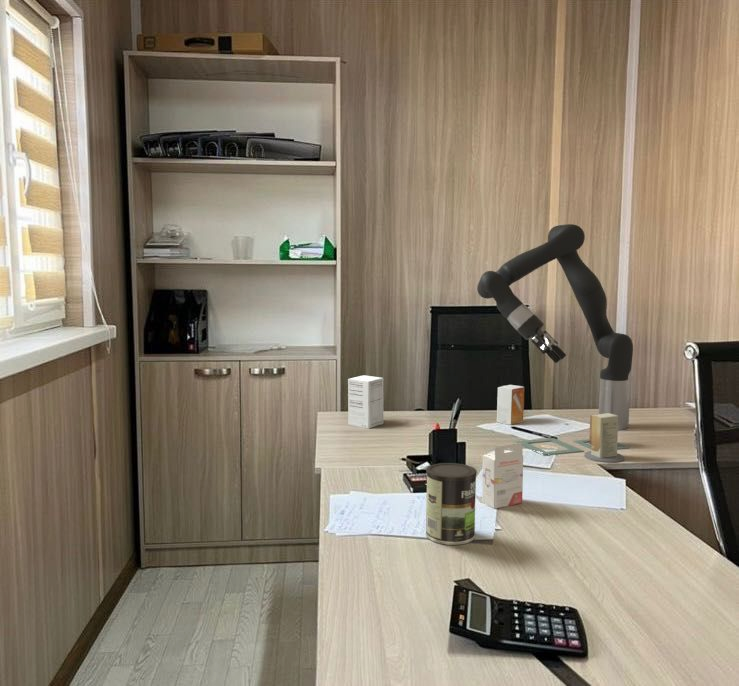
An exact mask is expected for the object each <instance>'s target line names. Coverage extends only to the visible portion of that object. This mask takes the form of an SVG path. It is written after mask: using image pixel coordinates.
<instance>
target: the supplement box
mask: <svg viewBox="0 0 739 686" xmlns="http://www.w3.org/2000/svg"><path fill="white" fill-rule="evenodd" d="M347 386H348V387H347V391H348V393H347V399H348V400H347V401H348V402H347V404H348V405H347V406H348V407H347V408H348V410H347V412H348V413H347V415H348V416H347V417H348V418H347V419H348V420H347V421H348V423H347V424H348V426H351V427H356V428H362V429H367V430H368V429H372V428H374V427H377V426H380V425H383V424H384V377H381V376H371V375H359V376H355V377H351V378H348V379H347Z"/></svg>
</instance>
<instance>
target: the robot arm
mask: <svg viewBox="0 0 739 686" xmlns="http://www.w3.org/2000/svg"><path fill="white" fill-rule="evenodd" d="M585 237H586V236H585V231H584V230H583V228H582V227H580V226H579V225H577V224H572V223H568V224H559V225H555V226H553V227H552V228H551V229H550V230H549V232H548V233H547V242H545V243H543V244H540V245H539V246H536V247H534V248H531V249H529V250H526V251H525V252H522V253H519V254H518V255H516V256H515V257H512V258H511V259H510V260H508V261H506V262H504V263H503V264H502V265H501V266H500V267H499V269H498V270H496V271H494V270H487V271H486V272H484V273H483V274H481V277H480V279H479V280H478V283H477V286H476V287H477V289H476V290H477V293H478V295H479V296H480V297H481V298H483V299H493V300H494V301H495V303H496V308H497V310H498V311H499V312H500V313H501V315H502V316H503V317H504V318H505V319H506V320H507V321H508V322H509V324H510V325H511V326H512V327H513V328H514V329H515V330H516V331H517V333H519V334H520V335H521V336H522V338H524V340H527V341H528V340H530V342H532V344H533V345H534V346H535V347H536V348H537V349H538V350H539V351H540V352H541V353H542V354H543V355H544V354H545V355H546V356H548V357H549V358H550V359H551V360H552V361H553V363H555V364H558V363H559V362H560V361H561V360H563V359H565V357H566V356H567V354H566V353H565V352H564V351H563V350H562V349H561V348H560V346H559V342H558V341H556V339H555V338H553V337H552V335H551V334H550V333H549V332H548V330H547V331H546V330H544V331H543V330H542V328H543V327H544V324H545V323H544V322H543V321H542V320H541V319H540V318H539V317H538V316H537V315H536V313H535V312H533V311H532V310H531V309H530V308H529V307H528V306H526V304H524V303H523V302H522V301H521V299H520V298H518V297H517V295H515V294H514V292H513V291H512V289H511V287H510V286H512V284H514V283H516V282H518V281H519V280H521V279H523V278H524V277H526V276H527V275H528V276H529V274H530V273H533V272H534V271H536V270H538V269H540V268H541V267H542V266H545V265H546V264H548V263H550V262H552V261H554V260H557V261H558V263H559V265H560V267H561V268H562V271H563V272H564V275H565V277H566V279H567V282H568V283H569V285H570V288H571V289H572V292H573V295H574V297H575V299H576V301H577V303H578V305H579V308H580V309H581V311H582V313H583V316H584V318H585V320H586V323H587V324H588V327H589V329H590V331H591V335H592V338H593V341H594V343H595V344H594V345H595V346H596V350H597V351H598V353H599V354H600V355H601V356H602V357H603V358H605V359H608V360H607V366H606V367H605V368H602V369H601V370H600V372H599V374H600V375H599V396H598V397H599V399H598V414H604V413H610V414H614V415H617V416H618V431H622V430H626V429H629V421H630V403H631V402H630V401H629V400H628V396H629V395H628V393H629V391H628V390H629V389H628V388H629V376H630V374H631V371H632V367H633V366H632V365H633V364H632V363H633V357H634V355H633V354H634V344H633V340H632V339H631V337H630V336H629V335H627V334H624V333H620V332H616V331H614V330H613V328H612V326H611V324H610V322H609V320H608V316H607V309H608V308H607V307H608V302H607V301H608V299H607V295H606V292H605V290H604V288H603V285H602V283H601V281H600V280H599V278H598V277H597V275H595V273H594V272H593V271H592V269H590V268H589V267H588V265H586V264H585V262H584V261H583V260H582V259H581V257H580V255H579V253H578V250H580V249H581V248H582V246H583V244H584V242H585V240H586V239H585Z"/></svg>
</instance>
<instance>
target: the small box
mask: <svg viewBox="0 0 739 686" xmlns="http://www.w3.org/2000/svg"><path fill="white" fill-rule="evenodd" d="M496 400H497V401H496V402H497V403H496V404H497V405H496V423H499V424H504V425H510V426H512V425H515V423H516V424H519V423H518V422H520V423H522V422H521V421H523V422H524V408H525V407H524V406H525V386H522V385H514V384H507V385H501V386H498V387H497V397H496Z"/></svg>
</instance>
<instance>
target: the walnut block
mask: <svg viewBox="0 0 739 686" xmlns="http://www.w3.org/2000/svg"><path fill="white" fill-rule="evenodd" d="M589 418H590V419H589V421H590V422H589V438H588V439H589V442H588V444H589V445H592V415H590V417H589Z"/></svg>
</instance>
